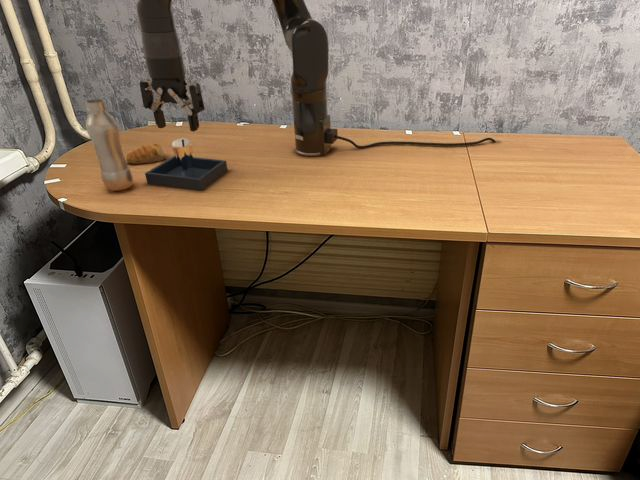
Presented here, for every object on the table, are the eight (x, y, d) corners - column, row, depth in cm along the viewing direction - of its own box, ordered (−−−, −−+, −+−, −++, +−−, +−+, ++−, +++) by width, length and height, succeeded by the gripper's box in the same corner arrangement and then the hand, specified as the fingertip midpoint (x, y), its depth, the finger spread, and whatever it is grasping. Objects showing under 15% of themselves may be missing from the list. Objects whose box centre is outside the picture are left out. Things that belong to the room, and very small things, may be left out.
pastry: (132, 167, 124) (128, 153, 122) (124, 160, 129) (120, 146, 127) (167, 159, 129) (164, 145, 127) (159, 152, 134) (155, 139, 131)
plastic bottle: (117, 196, 110) (90, 106, 99) (99, 189, 113) (70, 102, 102) (141, 186, 114) (118, 99, 103) (123, 180, 117) (98, 95, 106)
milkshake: (181, 181, 116) (172, 141, 110) (177, 174, 120) (168, 134, 114) (200, 178, 118) (192, 138, 112) (195, 171, 122) (188, 131, 116)
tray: (227, 171, 122) (226, 160, 121) (201, 190, 112) (199, 179, 111) (177, 165, 126) (175, 155, 124) (147, 184, 115) (144, 173, 114)
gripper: (202, 52, 105) (213, 127, 114) (145, 49, 108) (161, 121, 117) (182, 58, 99) (196, 136, 108) (123, 54, 102) (141, 130, 111)
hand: (178, 128), depth 112 cm, fingers open, 8 cm apart
